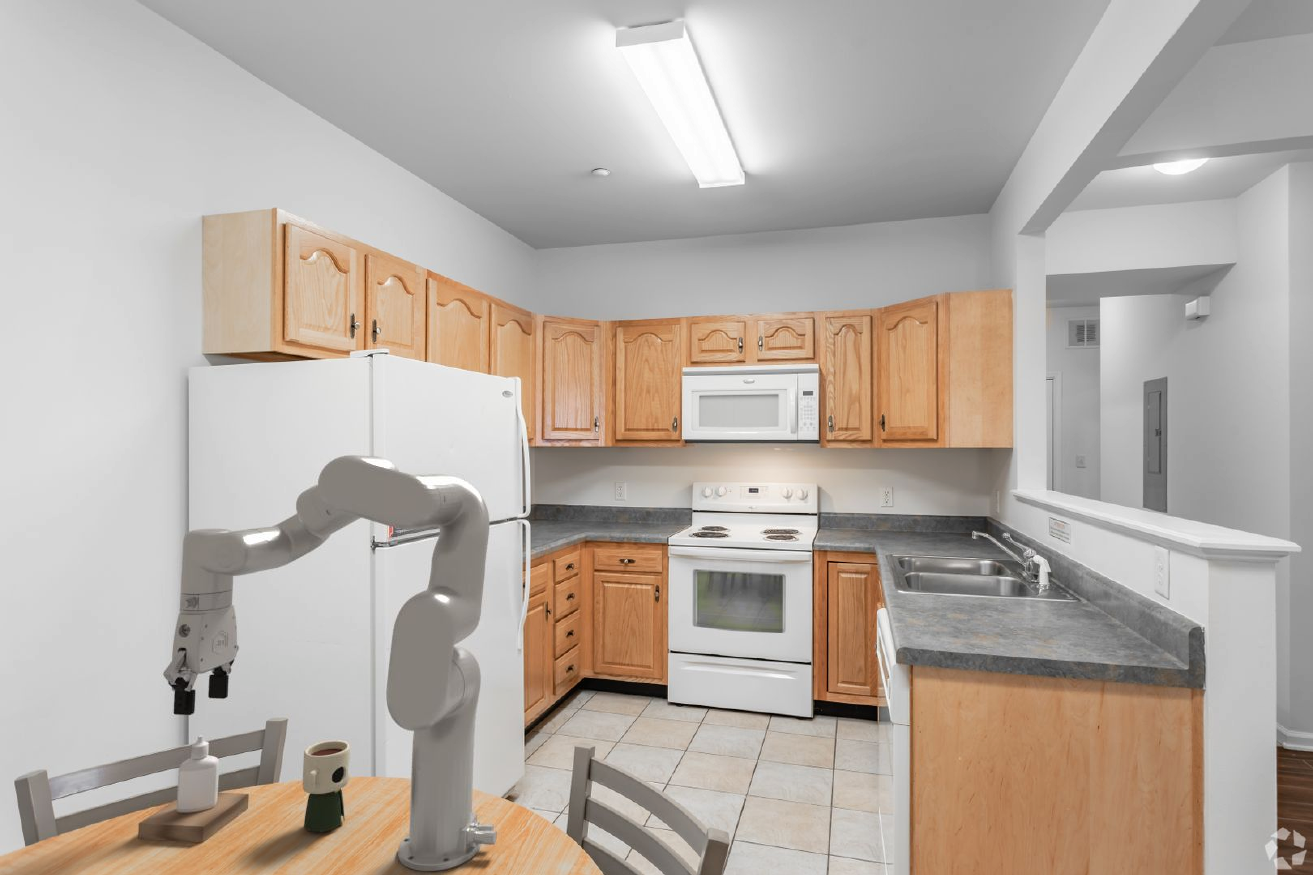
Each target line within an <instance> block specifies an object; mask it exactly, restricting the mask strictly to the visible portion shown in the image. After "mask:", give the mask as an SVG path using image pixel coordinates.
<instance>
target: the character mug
mask: <svg viewBox="0 0 1313 875" xmlns="http://www.w3.org/2000/svg"><path fill="white" fill-rule="evenodd" d="M350 760H351V745H350V744H349V742H347V741H345V740H340V739H339V740H335V739H334V740H326V741H321V742H320V741H319V742H317V743H314V744H312V745H310V746H308V747H306V748H305V750H304V751H303V766H302V767H303V768H302V790H303V791H304V793H307V794H309V795H308V798H307V803H306V807H305V808H306V809H305V814H304V820H303V822H304V823H303V828H304V829H305V830H307V831H313V832H322V833H323V832H329V831H332V830H334V829H336V828H338V827H340V826H341V825H342V818H343V822H345V821H346V820H345V808H344V807H345V805H344V797H343V790H342V788H345V787H346V786H347V785H348V783H349V779H350V773H349V766H350Z"/></svg>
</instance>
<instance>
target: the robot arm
mask: <svg viewBox="0 0 1313 875" xmlns="http://www.w3.org/2000/svg"><path fill="white" fill-rule="evenodd" d="M317 480H318V481H317V483H316V484H315V485H313V486H311V487H310V488H308V489H305V490H304V491H302V492H301V493H300V494H299V495H298V497H297V500H296V502H295V507H296V513H295V514H293V515H291V516H290V517H289V518H287V519H285V520H283V521H281V522H279V523H277V524H275V525H273V526H267V527H266V526H265V527H258V528H250V529H243V530H242V529H241V530H232V531H231V529H230V530H229V529H226V528H200V529H199V528H198V529H194V530H193V529H192V530H190V531H188V532H186V534H185V535H184V536H183V540H182V555H181V556H182V557H181V558H182V559H181V574H180V575H181V578H180V599H179V613H178V617H177V621H176V625H175V630H174V636H173V644H172V655H171V661H170V663H169V664H168V666H167V667H166V668H165V670H163V674H162V675H163V677H164V678H165V679H166V681H167V683H168V685H169V687H171V691H172V692H174V695H173V696H174V697H173V698H174V699H173V700H174V701H173V714H174V715H178V716H191V715H193V714H194V713H195V710H196V709H195V708H196V707H195V706H196V689H193V688H194V685H195V683H196V680H197V679H198V678H197V677H198V676H199V674H205V673H208V672H209V671H211V673H212V674H210V675H209V676H208V677H209V678H208V693H207V694H208V695H207V697H208V698H209V699H215V700H216V699H217V700H218V699H221V700H222V699H223V700H224V699H226V698H228V696H229V695H228V694H229V678H230V677H229V675H230V674H231V672H232V665H233V664H234V662H235V659H236V657H237V654H238V651H239V649H240V646H239V645H238V629H237V628H238V627H237V616H236V610H235V606H234V604H233V592H234V591H233V590H234V589H233V588H234V577H238V576H239V577H240V576H245V575H249V574H254V573H258V572H262V571H268V570H273V569H278V568H281V567H283V566H286V565H288V564H290V563H292V562H294V561H297V560H298V559H300V558H301V557H304V556H305V555H307V554H309V553H311V552H313V551H315V550H316V549H318V548H319V547H321V546H322V545H323V544H324V543H325V542H326V541H327V540H328V539H329V538H330V536H331V535H333V534H335V533H336V532H337V531H340V530H342V529H343V528H345V527H347V526H348V525H351V524H352V523H354V522H356V521H358V520H360V519H365V520H367V521H372V522H375V523H378V524H381V525H384V526H388V527H391V528H396V529H399V530H400V529H401V530H405V531H407V530H408V531H414V530H421V529H428V528H432V527H437V528H438V529H439V533H438V534H439V535H438V539H437V541H436V543H435V544H434V545H435V546H434V549H433V553H432V556H431V568H430V575H429V581H428V584H427V585H428V586H427V588H426V590H423V591H421V592H418V593H416V594H414V595H412V597H410V598H409V599H408V600H407V601H405V603H404V604H403V605H402V607H401V608H400V610H399V612H398V614H397V616H396V619H395V621H394V625H393V629H392V636H391V645H390V654H389V662H388V671H387V679H386V680H387V681H386V692H385V693H386V695H385V697H386V699H385V700H386V705H387V706H386V707H387V711H388V713H389V715H390V716H391V719H392V720H393V721H394V723H395V724H396V725H398V727H400V728H402V729H403V730H406V731H411V732H413V734H412V735H413V737H412V750H411V751H412V754H411V780H410V802H409V803H410V806H409V808H410V809H409V810H410V811H409V829H408V830H409V831H408V834H407V835H406V836H405V837H404V838H403V839H402V840H401V841H400V843H399V844H398V847H397V848H398V849H397V850H398V851H397V852H398V853H397V856H398V859H399V861H400V863H401V864H402V865H403V866H405V867H407V868H409V869H411V870H415V871H419V872H436V871H437V872H438V871H443V870H449V869H452V868H455V867H457V866H460V865H461V864H464V863H465V862H467V861H469V860H471V858H473V857H474V856H475V855H476V854H477V853H478V851H479V850H480V848H481V845H487V846H488V845H490V846H495V845H496V842H497V836H498V832H497V830H494V828H495V827H494V824H492V823H491V824H490V823H484V824H483V823H480V822H479V821H478V812H473V786H474V785H473V783H474V756H475V755H474V754H475V752H474V751H475V749H474V748H475V736H476V735H475V734H476V733H475V731H476V719H477V709H478V703H479V697H480V691H481V684H482V682H481V681H482V680H481V676H482V675H481V668H480V666H479V662H478V661H477V659H476V656H475V655H473V654H472V653H471V651H469V650H468V649H466V648H464V647H461V646H455V645H456V644H458V643H460V642H461V641H463V640H465V639H467V638H468V637H469V636H470V635H473V633H474V631H476V629H477V628H478V626H479V622H480V620H481V615H482V605H483V603H482V602H483V594H484V592H483V591H484V584H485V583H484V582H485V577H486V576H485V575H486V561H487V551H488V543H489V536H490V513H489V511H488V510H489V509H488V506H487V504H486V501H485V500H484V498H483V496H482V495H481V494H480V492H479V491H478V490H477V489H476V488H475V487H474V486H473V485H472V484H470V483H469V482H468V481H466V480H464V479H462V478H460V477H457V476H454V475H448V474H442V473H441V474H440V473H439V474H438V473H435V474H434V473H433V474H432V473H431V474H410V473H407V472H402V471H400V470H399V468H398V467H397V466H396V464H394V462H392V461H391V460H388V459H387V458H385V457H382V456H375V455H357V454H356V455H354V454H353V455H352V454H351V455H350V454H349V455H343V456H339V457H337V458H334V459H333V460H331V461H329V462H328V463H327V464H326V465H325V466H324V467H323V469H322V470H321V472H320V473H319V475H318V479H317ZM185 676H188V678H187V680H186V679H185Z"/></svg>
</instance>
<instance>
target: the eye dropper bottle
mask: <svg viewBox="0 0 1313 875" xmlns="http://www.w3.org/2000/svg"><path fill="white" fill-rule="evenodd" d="M209 745H210V743H209V742H208V741H206V740H205V739H204V735H203V734H200V735H198V736H197V741H196V742H195V743H193V744H192V745H191V754H190V758H188V759H186V760H185V761H183V762H181V764H180V765H179V768H178V778H177V779H178V781H177V796H176V798H177V812H179V813H191V812H198V811H203V810H207V809H210V808H212V807H214V806H215V804H216V802H217V798H218V792H219V774H220V771H219V770H220V761H219V760H220V759H219V758H218V757H216V756H213V755H209V747H210V746H209Z"/></svg>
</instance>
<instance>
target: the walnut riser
mask: <svg viewBox="0 0 1313 875" xmlns="http://www.w3.org/2000/svg"><path fill="white" fill-rule="evenodd" d="M249 796H250V794H249V793H234V792H219V791H218V798H217V802H216V804H215V806H214V807H212V808H210V809H207V810H203V811H198V812H191V813H179V812H177V799H174V800H173V801H171V802H170V803H169V804H167V805H165V806H164V807H162V808H161V809H159V810H158V811H155V812H154V813H152V814H151V815H149V816H148V817H146V818H145V819H143V820H141V821H140V822H139V823H138V828H137V829H138V831H137V836H138V837H137V839H138V840H150V841H167V842H169V841H170V842H187V843H205V841H207V840H208V839H210V838H211V837H212V836H213V835H215V834H216V833H217V832H219V831H220V830H221V829H223V828H224V827H225V826H227V825H228V824H229V823H231V822H232V821H233V820H235V819H236V818H237V817H239V816H240V815H241V814H242V813H244V812H245V811H246V810H248V809H249Z"/></svg>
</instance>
